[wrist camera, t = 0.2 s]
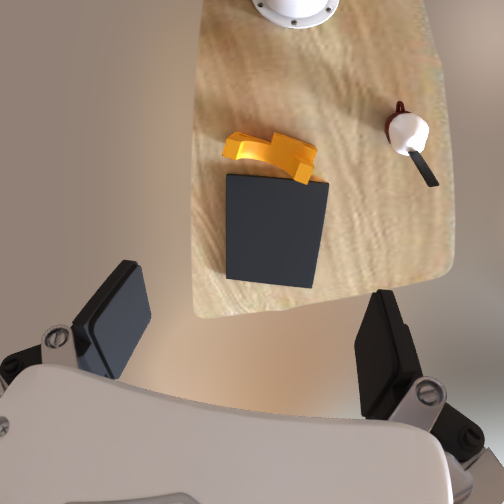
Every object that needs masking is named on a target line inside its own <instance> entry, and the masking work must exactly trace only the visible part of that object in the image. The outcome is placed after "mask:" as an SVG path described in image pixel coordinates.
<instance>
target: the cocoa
mask: <svg viewBox="0 0 504 504" xmlns="http://www.w3.org/2000/svg"><path fill="white" fill-rule="evenodd" d="M400 107H401V111H400ZM428 130H429V128H428V126H427V124H426V122H425V121H424V120H422V119H421V118H420V117H419V116H417V115H416V114H414V113H410V112H408V111H405V108H404V104H403V102H402V101H398V102H397V105H396V113H394V114H393V115H391V116H390V117H389V118H388V120H387V122H386V124H385V134H386V136H387V139H388V141H389V143H390V144H391V147H392V148H393V149H394V150H395V151H396V152H398V153H400V154H403V155H408V156H410V157H411V158H412V160H413V162H414V163H415V165H416V166H417V168H418V170H419V171H420V173H421V175H422V176H423V178H424V180H425V182H426V183H427V185H428V186H429V187H434V186H439V183H438V181H437V179H436V178H435V176H434V174H433V173H432V171H431V170H430V168H429V167H428V165H427V163H426V162H425V160H424V159H423V157H422V156H421V154H420V152H421V151H422V150H423V149H424V145H425V141H426V139H427V136H428Z"/></svg>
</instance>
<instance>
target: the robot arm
mask: <svg viewBox="0 0 504 504" xmlns="http://www.w3.org/2000/svg"><path fill="white" fill-rule="evenodd" d="M252 1H253V4H254V5H255V7H256V9H257V10H258V11H259V13H260V14H261V15H262V16H264V17H265V18H266V19H268V20H269V21H271V22H272V23H275V24H277V25H279V26H283V27H287V28H295V29H300V28H309V27H313V26H316V25H319V24H321V23H323V22H324V21H326V20H327V19H328V18H330V17H331V16H332V14H333V13H334V12H335V10H336V8H337V6H338V3H339V0H252ZM260 5H263V7H259V6H260ZM326 10H329V11H330V12H327V11H326ZM293 22H295V23H296V24H295V25H293V24H292V23H293ZM150 319H151V311H150V307H149V302H148V298H147V293H146V289H145V284H144V279H143V274H142V269H141V266H140V265H138V263H137V262H136V261H129V260H123V261H122V262H121V263H120V264H119V265H118V266H117V267H116V269H115V270H114V271H113V272H112V274H110V276H109V277H108V278H107V279H106V281H105V282H104V283H103V284H102V285H101V286H100V288H99V289H98V290H97V291H96V293H95V294H94V295H93V296H92V298H91V299H90V300H89V301H88V303H87V304H86V305H85V306H84V308H83V309H82V310H81V312H80V313H79V314H78V315H77V317H76V318H75V319H74V321H73V322H72V323H73V325H72V326H71V328H70V327H68V326H66V325H56V326H53V327H51V328H49V329H48V330H47V331H46V332H45V333H44V334H43V336H42V339H41V344H40V345H37V346H34V347H31V348H28V349H25V350H23V351H20V352H17V353H14V354H11V355H9V356H7V357H6V358H5V359H4V360H3V362H2V363H1V366H0V504H502V502H503V501H504V467H503V466H502V465H501V463H500V462H499V461H498V459H497V458H496V456H495V455H494V454H493V452H492V451H491V450H490V448H489V447H488V448H487V449H486V448H485V447H484V441H485V438H484V434H483V431H482V430H481V428H480V427H479V426H478V425H477V424H475V423H474V422H472V421H471V420H470V419H468V418H467V417H466V416H464V415H463V414H461V413H460V412H459V411H457V410H456V409H454V408H453V407H451V406H450V405H449V404H448V403H446V399H447V392H446V389H445V387H444V386H443V384H442V383H441V382H440V381H439V380H437V379H435V378H433V377H429V376H423V374H422V370H421V367H420V363H419V359H418V356H417V353H416V349H415V346H414V343H413V340H412V336H411V333H410V330H409V327H408V325H406V324H404V323H403V320H402V317H401V314H400V311H399V308H398V305H397V302H396V299H395V296H394V294H393V291H392V290H382V289H378V290H377V292H376V293H372V296H371V298H370V301H369V304H368V307H367V310H366V313H365V315H364V318H363V321H362V323H361V326H360V329H359V332H358V334H357V337H356V340H355V345H354V348H355V356H356V364H357V373H358V383H359V393H360V404H361V414H362V416H363V417H366V419H338V418H320V417H305V416H292V415H281V414H272V413H264V412H256V411H249V410H242V409H236V408H229V407H223V406H217V405H212V404H207V403H202V402H197V401H192V400H187V399H183V398H179V397H174V396H170V395H166V394H162V393H158V392H154V391H150V390H147V389H143V388H139V387H136V386H132V385H129V384H126V383H122V382H119V381H115V379H118V378H119V377H120V375H121V373H122V372H123V369H124V368H125V366H126V364H127V362H128V360H129V358H130V357H131V355H132V353H133V351H134V349H135V347H136V345H137V344H138V342H139V340H140V338H141V336H142V334H143V333H144V330H145V329H146V327H147V325H148V324H149V322H150Z"/></svg>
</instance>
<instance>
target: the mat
mask: <svg viewBox="0 0 504 504" xmlns="http://www.w3.org/2000/svg"><path fill="white" fill-rule="evenodd" d="M328 190H329V183H323V182H315V181H308V184H307V185H306V184H303V183H301V182H298V181H295V180H293V179H288V178H277V177H266V176H254V175H241V174H227V175H226V279H233V280H241V281H249V282H258V283H266V284H275V285H284V286H293V287H302V288H312V285H313V279H314V274H315V269H316V263H317V258H318V252H319V247H320V241H321V235H322V229H323V223H324V217H325V210H326V204H327V197H328Z"/></svg>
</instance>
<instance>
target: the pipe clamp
mask: <svg viewBox="0 0 504 504" xmlns="http://www.w3.org/2000/svg"><path fill="white" fill-rule="evenodd" d="M316 153H317V149H316V146H313V145H310V144H308V143H305V142H302V141H300V140H297V139H294V138H291V137H288V136H286V135H283V134H280V133H277V132H275V133H274V135H273V138H272V141H271V142H269V141H266V140H263V139H260V138H256V137H253V136H250V135H247V134H244V133H241V132H237V131H236V132H235V133H233V134H232V135H231V136H229V137H228V138H227V140H226V144H225V147H224V150H223V154H222V156H224V157H227V158H230V159H234V160H236V159H239V158H252V159H257V160H261V161H265V162H268V163H270V164H273V165H275V166H278V167H280V168H281V169H283V170H285V171H286V172H288V173H289V174H290V175H291V176H292V177H293V180H295V181H298V182H301V183H303V184H306V185H307V184H308V181H309V179H310V176H311V174H312V172H313V169H314V165H313V160H314V158H315V155H316Z"/></svg>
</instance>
